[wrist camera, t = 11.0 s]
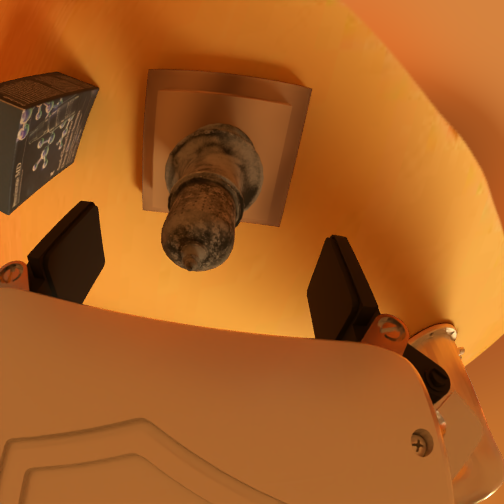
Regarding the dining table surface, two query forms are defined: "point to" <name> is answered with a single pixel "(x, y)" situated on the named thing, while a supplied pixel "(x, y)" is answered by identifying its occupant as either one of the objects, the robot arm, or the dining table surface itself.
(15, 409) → the robot arm
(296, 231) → the dining table surface
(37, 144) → the box
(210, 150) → the salt shaker
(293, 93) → the plinth
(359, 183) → the dining table surface
